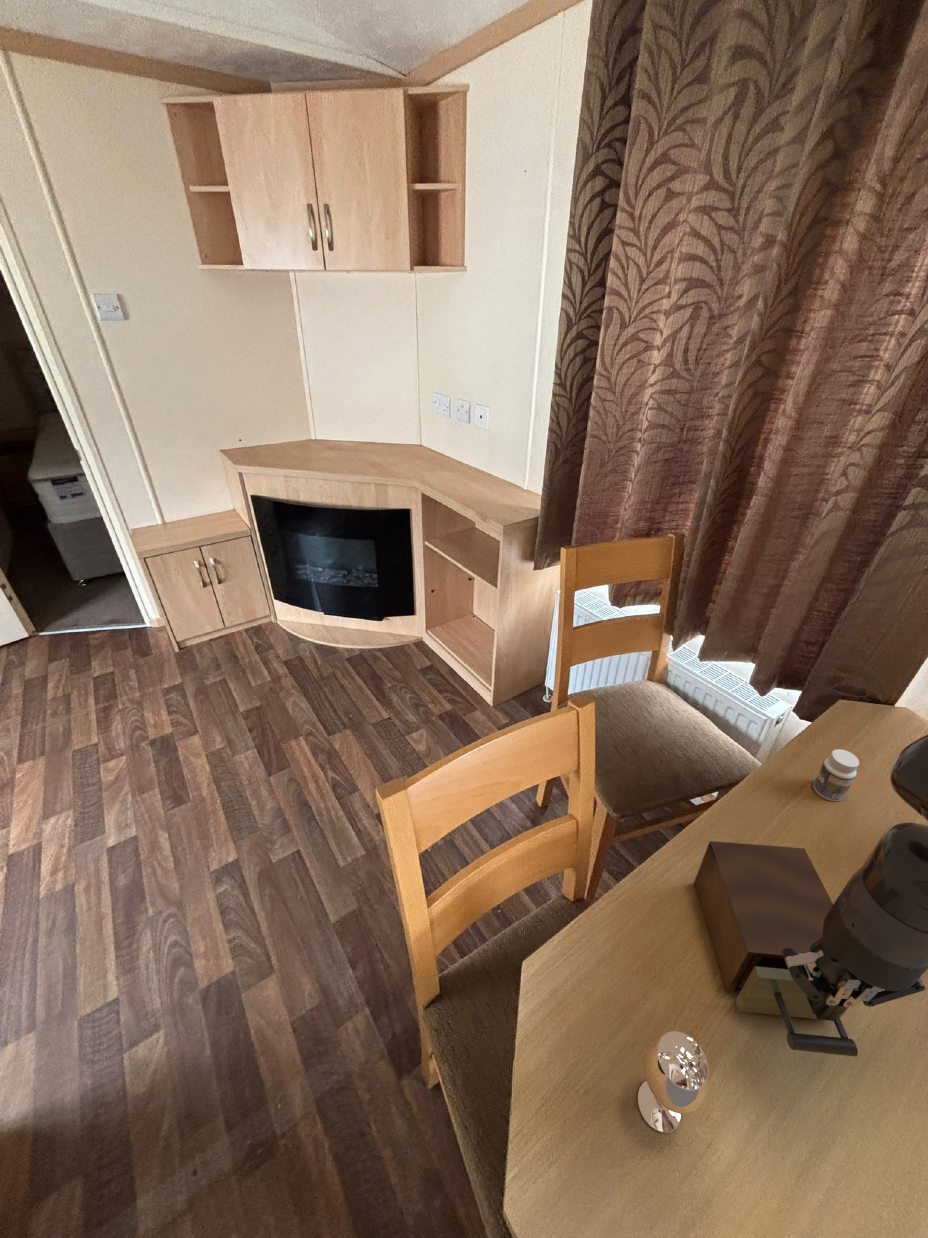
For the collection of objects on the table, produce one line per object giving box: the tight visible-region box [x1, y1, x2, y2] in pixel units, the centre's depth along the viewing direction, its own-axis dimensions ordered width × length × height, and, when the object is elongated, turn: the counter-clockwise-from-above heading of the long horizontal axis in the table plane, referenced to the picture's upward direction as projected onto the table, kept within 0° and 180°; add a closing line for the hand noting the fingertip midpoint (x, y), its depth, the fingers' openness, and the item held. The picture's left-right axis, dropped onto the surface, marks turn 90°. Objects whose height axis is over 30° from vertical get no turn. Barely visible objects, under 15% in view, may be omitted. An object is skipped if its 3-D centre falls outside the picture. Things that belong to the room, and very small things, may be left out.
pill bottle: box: [812, 748, 860, 802], centre depth 90 cm, size 5×5×8 cm
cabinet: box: [693, 840, 834, 996], centre depth 69 cm, size 15×13×10 cm
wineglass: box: [637, 1030, 710, 1134], centre depth 54 cm, size 6×6×12 cm
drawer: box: [735, 956, 859, 1058], centre depth 64 cm, size 19×11×8 cm, turn 175°
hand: (820, 1010), depth 57 cm, fingers closed
